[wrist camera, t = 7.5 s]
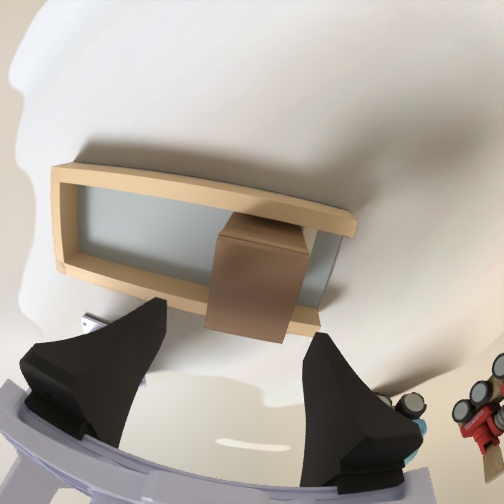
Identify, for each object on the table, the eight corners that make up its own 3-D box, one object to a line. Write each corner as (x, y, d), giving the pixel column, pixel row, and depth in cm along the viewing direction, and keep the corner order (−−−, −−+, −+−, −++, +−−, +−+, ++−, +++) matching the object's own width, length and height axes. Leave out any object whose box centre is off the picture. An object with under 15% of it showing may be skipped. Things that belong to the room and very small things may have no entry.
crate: (282, 295, 22) (282, 344, 17) (220, 282, 22) (203, 328, 17) (301, 225, 20) (311, 259, 14) (233, 210, 20) (215, 238, 14)
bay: (312, 316, 23) (315, 337, 21) (74, 258, 23) (57, 271, 21) (347, 210, 19) (358, 221, 17) (72, 162, 20) (51, 166, 17)
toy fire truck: (523, 348, 24) (567, 417, 8) (469, 411, 30) (496, 481, 14) (499, 340, 24) (554, 427, 7) (435, 412, 30) (463, 498, 13)
